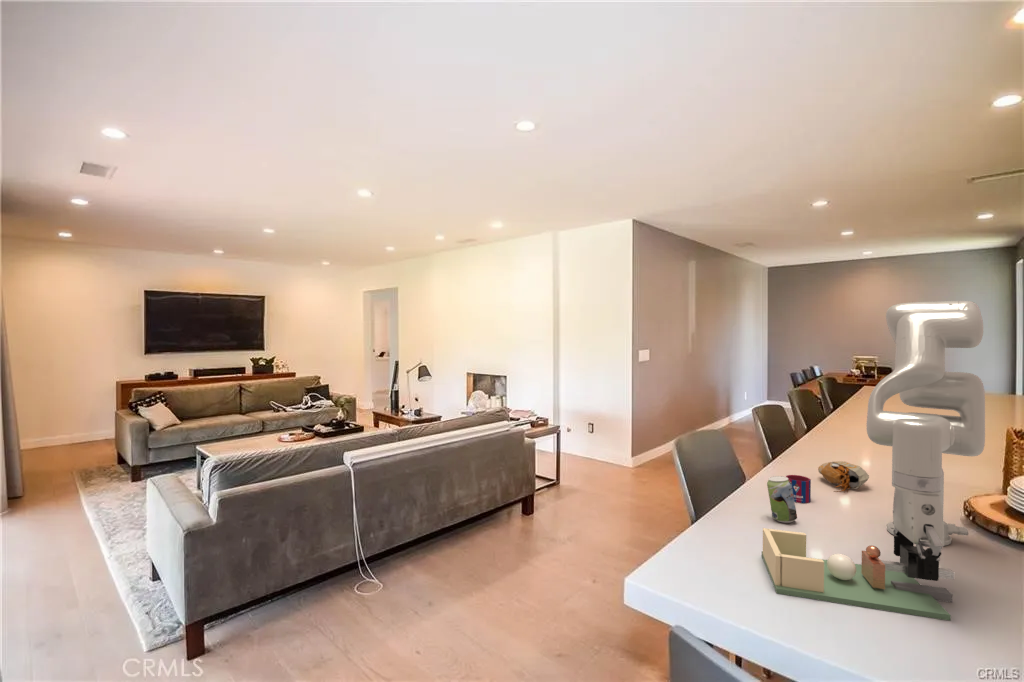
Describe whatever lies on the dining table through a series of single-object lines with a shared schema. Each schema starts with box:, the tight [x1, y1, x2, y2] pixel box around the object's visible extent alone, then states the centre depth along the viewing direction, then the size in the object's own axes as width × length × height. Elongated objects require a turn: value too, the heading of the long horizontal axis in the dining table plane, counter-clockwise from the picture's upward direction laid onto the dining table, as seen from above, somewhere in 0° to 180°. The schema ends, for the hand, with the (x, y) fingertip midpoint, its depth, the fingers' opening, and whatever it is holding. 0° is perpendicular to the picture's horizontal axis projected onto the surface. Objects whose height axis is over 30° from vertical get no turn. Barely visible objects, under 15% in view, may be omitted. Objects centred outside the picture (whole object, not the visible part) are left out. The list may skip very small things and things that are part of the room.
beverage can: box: [766, 475, 798, 524], centre depth 131 cm, size 6×7×12 cm
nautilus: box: [817, 460, 870, 494], centre depth 160 cm, size 8×22×15 cm
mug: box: [785, 474, 812, 504], centre depth 149 cm, size 7×10×7 cm
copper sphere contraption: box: [861, 544, 955, 589], centre depth 95 cm, size 14×6×8 cm, turn 71°
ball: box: [827, 553, 856, 580], centre depth 98 cm, size 5×5×5 cm
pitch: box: [761, 527, 953, 621], centre depth 98 cm, size 32×17×7 cm, turn 71°
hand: (914, 567), depth 94 cm, fingers open, 9 cm apart
